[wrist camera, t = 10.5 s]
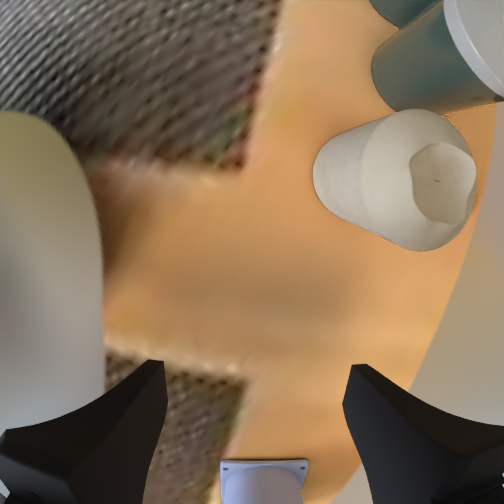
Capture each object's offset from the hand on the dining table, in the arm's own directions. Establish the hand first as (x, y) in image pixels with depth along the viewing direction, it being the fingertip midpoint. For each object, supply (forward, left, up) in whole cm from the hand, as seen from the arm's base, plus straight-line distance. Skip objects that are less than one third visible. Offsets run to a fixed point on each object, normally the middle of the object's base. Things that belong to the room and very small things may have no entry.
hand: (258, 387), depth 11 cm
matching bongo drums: (+19, -10, -9) cm, 23 cm away
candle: (+8, -6, -10) cm, 14 cm away
